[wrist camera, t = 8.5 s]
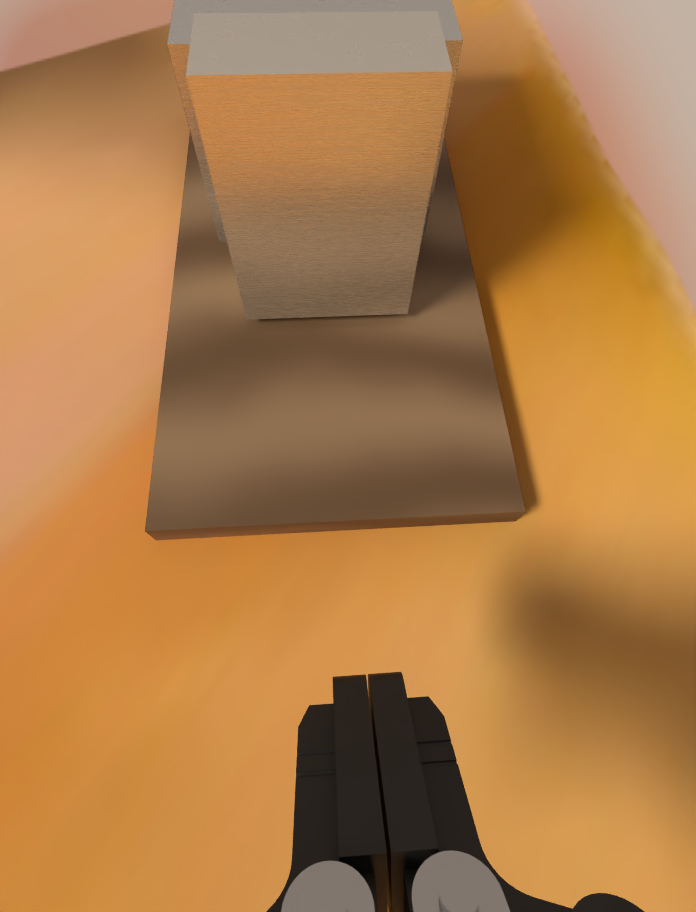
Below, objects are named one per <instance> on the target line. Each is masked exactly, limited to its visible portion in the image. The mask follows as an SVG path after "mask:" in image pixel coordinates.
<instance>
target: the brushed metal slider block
mask: <svg viewBox="0 0 696 912" xmlns="http://www.w3.org/2000/svg"><path fill="white" fill-rule="evenodd" d="M452 72H453V71H452V67H451V63H450V59H449V55H448V51H447V47H446V43H445V39H444V35H443V31H442V27H441V23H440V19H439V15H438V11H388V12H287V13H194V17H193V24H192V32H191V40H190V48H189V55H188V63H187V71H186V78H187V82H188V86H189V90H190V94H191V98H192V102H193V106H194V110H195V114H196V118H197V122H198V126H199V130H200V134H201V138H202V142H203V146H204V150H205V154H206V158H207V162H208V166H209V170H210V175H211V179H212V183H213V187H214V191H215V195H216V199H217V203H218V207H219V211H220V215H221V219H222V223H223V227H224V231H225V235H226V239H227V243H228V247H229V251H230V255H231V259H232V263H233V267H234V271H235V275H236V279H237V283H238V288H239V292H240V296H241V300H242V304H243V308H244V312H245V316H246V320H247V319H276V318H304V317H333V316H361V315H390V314H408V309H409V304H410V298H411V293H412V288H413V282H414V277H415V271H416V266H417V261H418V255H419V250H420V245H421V239H422V234H423V228H424V223H425V218H426V212H427V207H428V201H429V196H430V191H431V185H432V180H433V175H434V169H435V164H436V158H437V153H438V148H439V142H440V137H441V132H442V126H443V121H444V115H445V110H446V105H447V99H448V94H449V88H450V83H451V78H452Z"/></svg>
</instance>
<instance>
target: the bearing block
mask: <svg viewBox="0 0 696 912" xmlns="http://www.w3.org/2000/svg"><path fill="white" fill-rule="evenodd" d="M388 11H438V15H439V19H440V23H441V27H442V31H443V35H444V39H445V43H446V47H447V51H448V55H449V59H450V63H451V67H452V71H453V72H452V78H451V83H450V88H449V94H448V99H447V105H446V110H445V115H444V121H443V126H442V132H441V137H440V142H439V148H438V153H437V158H436V164H435V169H434V175H433V180H432V185H431V191H430V196H429V201H428V207H427V212H426V218H425V223H424V228H423V234H422V236H425V234H426V229H427V223H428V218H429V213H430V208H431V203H432V197H433V192H434V187H435V182H436V177H437V171H438V166H439V161H440V156H441V151H442V145H443V140H444V135H445V130H446V125H447V119H448V114H449V109H450V104H451V99H452V93H453V88H454V83H455V78H456V73H457V67H458V62H459V57H460V52H461V47H462V41H463V40H462V36H461V32H460V29H459V25H458V22H457V18H456V14H455V11H454V7H453V4H452V0H174V5H173V11H172V17H171V23H170V29H169V36H168V42H167V45H168V49H169V53H170V57H171V60H172V64H173V68H174V72H175V76H176V79H177V83H178V87H179V91H180V94H181V98H182V102H183V106H184V110H185V113H186V117H187V121H188V125H189V128H190V132H191V136H192V140H193V144H194V147H195V151H196V155H197V159H198V162H199V166H200V170H201V174H202V178H203V181H204V185H205V189H206V193H207V196H208V200H209V204H210V208H211V211H212V215H213V219H214V223H215V227H216V230H217V234H218V238H219V242H227V239H226V235H225V231H224V227H223V223H222V219H221V215H220V211H219V207H218V203H217V199H216V195H215V191H214V187H213V183H212V179H211V175H210V170H209V166H208V162H207V158H206V154H205V150H204V146H203V142H202V138H201V134H200V130H199V126H198V122H197V118H196V114H195V110H194V106H193V102H192V98H191V94H190V90H189V86H188V82H187V78H186V71H187V63H188V55H189V48H190V40H191V32H192V24H193V17H194V13H287V12H388Z"/></svg>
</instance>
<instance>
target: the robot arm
mask: <svg viewBox="0 0 696 912" xmlns="http://www.w3.org/2000/svg"><path fill="white" fill-rule="evenodd" d="M368 694H369V698H368ZM333 700H334V704H322V705H309V707H308V709H307V711H306V713H305V715H304V717H303V719H302V721H301V723H300V725H299V727H298V745H297V766H296V788H295V809H294V831H293V852H292V865H291V870H290V874H289V878H288V880H287V883H286V885H285V887H284V889H283V891H282V893H281V895H280V896H279V898H278V899H277V900H276V902H275V903H274V904H273V905H272V906H271V907H270V909H269V910H268V911H267V912H388V911H389V912H644V911H643V910H641V909H640V908H639V907H637V906H636V905H634V904H633V903H631V902H629V901H627V900H625V899H623V898H621V897H618V896H615V895H611V894H605V893H597V894H591V895H588V896H586V897H584V898H582V899H581V900H580V901H578V903H577V904H576V905H575V906H574V908H573V909H571V908H568V907H565V906H561V905H558V904H555V903H551V902H548V901H544V900H541V899H538V898H534V897H532V896H529V895H526V894H524V893H522V892H520V891H519V890H517V889H515V888H514V887H512V886H511V885H509V884H508V883H507V882H506V881H505V880H504V879H502V878H501V877H500V876H499V875H498V873H497V872H496V871H495V870H494V869H493V867H492V866H491V864H490V863H489V862H488V860H487V858H486V856H485V854H484V852H483V850H482V847H481V844H480V841H479V838H478V834H477V831H476V827H475V824H474V820H473V817H472V813H471V810H470V806H469V802H468V799H467V795H466V792H465V788H464V785H463V781H462V778H461V774H460V771H459V767H458V765H457V762H456V757H455V753H454V750H453V746H452V745H451V739H450V736H449V732H448V728H447V725H446V721H445V718H444V715H443V714H442V713H441V712H440V710H439V709H438V708H437V707H436V705H435V704H434V703H433V702H432V700H431V699H430V698H429V697H415V698H407V695H406V690H405V685H404V680H403V676H402V673H401V672H392V673H378V674H368V689H367V681H366V675H352V676H338V677H333Z"/></svg>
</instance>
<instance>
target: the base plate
mask: <svg viewBox="0 0 696 912" xmlns="http://www.w3.org/2000/svg"><path fill="white" fill-rule="evenodd" d="M525 512H526V510H525V506H524V501H523V497H522V492H521V487H520V483H519V478H518V474H517V469H516V464H515V460H514V455H513V451H512V446H511V442H510V437H509V432H508V428H507V423H506V419H505V414H504V410H503V405H502V400H501V396H500V391H499V387H498V382H497V378H496V373H495V368H494V364H493V359H492V355H491V350H490V346H489V341H488V336H487V332H486V327H485V323H484V318H483V314H482V309H481V304H480V300H479V295H478V291H477V286H476V281H475V277H474V272H473V268H472V263H471V259H470V254H469V249H468V245H467V240H466V236H465V231H464V227H463V222H462V217H461V213H460V208H459V204H458V199H457V195H456V190H455V185H454V181H453V176H452V172H451V167H450V163H449V158H448V153H447V149H446V144H445V140H443V145H442V151H441V156H440V161H439V166H438V171H437V177H436V182H435V187H434V192H433V197H432V203H431V208H430V213H429V218H428V223H427V229H426V234H425V236H422V239H421V245H420V250H419V255H418V261H417V266H416V271H415V277H414V282H413V288H412V293H411V298H410V304H409V309H408V314H390V315H361V316H333V317H304V318H276V319H247V320H246V316H245V312H244V308H243V304H242V300H241V296H240V292H239V288H238V283H237V279H236V275H235V271H234V267H233V263H232V259H231V255H230V251H229V247H228V243H227V242H219V238H218V234H217V230H216V227H215V223H214V219H213V215H212V211H211V208H210V204H209V200H208V196H207V193H206V189H205V185H204V181H203V178H202V174H201V170H200V166H199V162H198V159H197V155H196V151H195V147H194V144H193V140H192V136H191V132H190V138H189V147H188V156H187V165H186V173H185V182H184V191H183V200H182V209H181V218H180V226H179V235H178V244H177V253H176V262H175V271H174V279H173V288H172V297H171V306H170V315H169V324H168V332H167V341H166V350H165V359H164V368H163V377H162V385H161V394H160V403H159V412H158V421H157V430H156V438H155V447H154V456H153V465H152V474H151V483H150V491H149V500H148V509H147V518H146V527H145V532H147V533H148V534H149V535H150V536H152V537H153V538H154V539H155V540H167V539H186V538H205V537H224V536H243V535H262V534H281V533H300V532H319V531H338V530H357V529H376V528H394V527H413V526H432V525H451V524H470V523H489V522H508V521H516V520H517V519H518V518H519V517H520V516H521V515H522V514H523V513H525Z"/></svg>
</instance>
